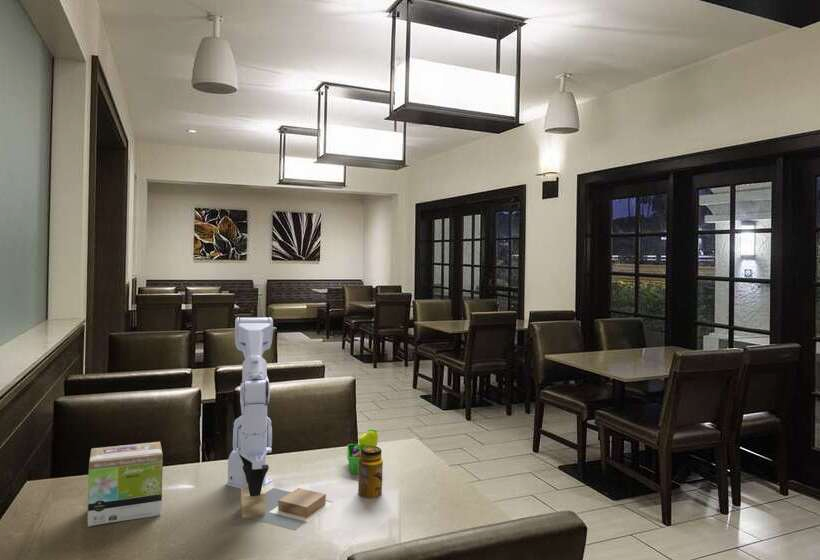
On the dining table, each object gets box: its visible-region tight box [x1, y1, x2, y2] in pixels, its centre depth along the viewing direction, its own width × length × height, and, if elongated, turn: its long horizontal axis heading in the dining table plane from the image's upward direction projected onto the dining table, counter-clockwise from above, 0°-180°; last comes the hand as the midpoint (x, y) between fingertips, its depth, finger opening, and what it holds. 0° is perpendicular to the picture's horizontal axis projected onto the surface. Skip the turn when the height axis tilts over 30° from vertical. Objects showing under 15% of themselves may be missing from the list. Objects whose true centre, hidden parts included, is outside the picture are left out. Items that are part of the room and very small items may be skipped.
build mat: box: [230, 487, 335, 531], centre depth 133 cm, size 18×16×1 cm
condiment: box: [357, 446, 384, 499], centre depth 142 cm, size 7×8×12 cm
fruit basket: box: [346, 428, 379, 474], centre depth 161 cm, size 11×9×11 cm
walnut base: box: [278, 487, 327, 518], centre depth 134 cm, size 8×8×2 cm
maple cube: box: [240, 485, 266, 519], centre depth 131 cm, size 5×5×5 cm
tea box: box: [87, 441, 164, 528], centre depth 129 cm, size 15×10×15 cm
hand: (253, 488), depth 131 cm, fingers open, 7 cm apart
